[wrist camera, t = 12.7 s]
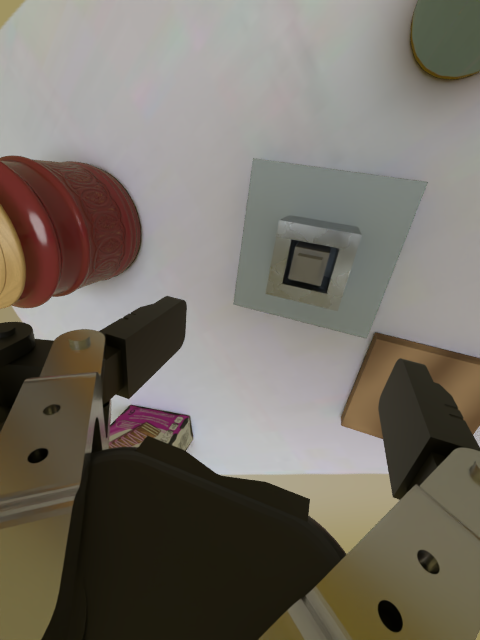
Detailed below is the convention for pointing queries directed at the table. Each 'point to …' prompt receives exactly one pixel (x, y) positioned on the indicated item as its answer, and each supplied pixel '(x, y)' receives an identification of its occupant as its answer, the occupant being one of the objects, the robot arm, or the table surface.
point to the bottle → (447, 37)
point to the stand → (444, 366)
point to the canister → (61, 229)
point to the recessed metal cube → (316, 233)
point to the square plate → (316, 260)
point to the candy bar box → (150, 428)
